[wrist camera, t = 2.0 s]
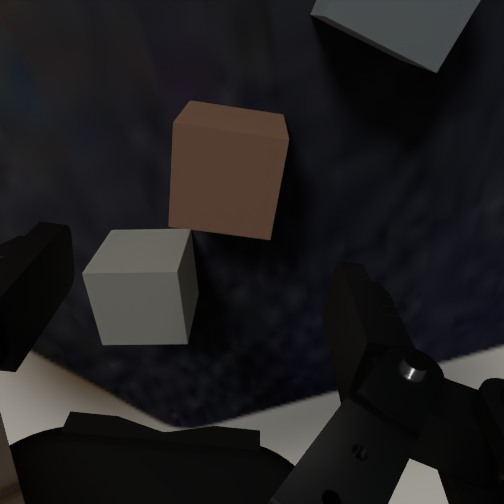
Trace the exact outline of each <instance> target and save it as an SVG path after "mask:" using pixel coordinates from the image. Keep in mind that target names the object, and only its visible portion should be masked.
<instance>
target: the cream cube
mask: <svg viewBox="0 0 504 504" xmlns="http://www.w3.org/2000/svg"><path fill="white" fill-rule="evenodd" d="M82 275H83V278H84V282H85V285H86V289H87V292H88V296H89V299H90V303H91V306H92V310H93V313H94V317H95V320H96V324H97V327H98V331H99V334H100V337H101V341H102V344H103V345H143V344H188V340H189V336H190V331H191V326H192V322H193V317H194V313H195V308H196V304H197V299H198V294H199V292H198V284H197V275H196V267H195V259H194V250H193V242H192V233H191V229H148V230H111V232H110V233H109V235H108V236H107V238H106V239H105V241H104V242H103V244H102V245H101V246H100V248H99V249H98V251H97V252H96V254H95V255H94V257H93V258H92V260H91V261H90V263H89V264H88V266H87V267H86V268H85V270H84V271H83V273H82Z"/></svg>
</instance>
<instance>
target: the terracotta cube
mask: <svg viewBox="0 0 504 504" xmlns="http://www.w3.org/2000/svg"><path fill="white" fill-rule="evenodd" d="M288 144H289V137H288V132H287V128H286V123H285V119H284V115H282V114H275V113H269V112H262V111H256V110H249V109H243V108H236V107H230V106H223V105H217V104H210V103H204V102H197V101H189V103H188V104H187V105H186V107H185V108H184V109H183V110H182V112H181V113H180V114H179V116H178V117H177V118H176V120H175V121H174V122H173V139H172V162H171V184H170V207H169V227H176V228H184V229H191V230H199V231H206V232H214V233H221V234H229V235H236V236H243V237H251V238H258V239H266V240H270V238H271V233H272V228H273V222H274V217H275V212H276V207H277V201H278V196H279V191H280V186H281V180H282V175H283V170H284V165H285V159H286V154H287V149H288Z"/></svg>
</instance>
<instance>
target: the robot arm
mask: <svg viewBox="0 0 504 504" xmlns="http://www.w3.org/2000/svg"><path fill="white" fill-rule="evenodd" d="M73 280H74V259H73V248H72V237H71V230H70V228H69V226H68V225H62V224H54V223H47V222H39V223H38V224H37V225H36V226H35V227H34V228H33V229H32V230H31V231H30V232H29V233H28V234H27V235H25V236H17V237H15V238H13V239H11V240H9V241H7V242H5V243H2V244H1V245H0V370H1V371H10V372H16V371H17V370H18V368H19V367H20V365H21V363H22V362H23V360H24V359H25V357H26V356H27V354H28V353H29V351H30V350H31V348H32V347H33V345H34V344H35V342H36V341H37V339H38V338H39V336H40V335H41V333H42V332H43V330H44V329H45V327H46V326H47V324H48V323H49V321H50V320H51V318H52V317H53V315H54V314H55V312H56V311H57V309H58V308H59V306H60V304H61V303H62V301H63V300H64V298H65V297H66V295H67V294H68V292H69V291H70V289H71V287H72V284H73ZM323 322H324V327H325V332H326V336H327V341H328V346H329V350H330V355H331V359H332V364H333V369H334V373H335V378H336V383H337V387H338V392H339V397H340V401H341V405H340V407H339V408H338V410H337V411H336V412H335V414H334V415H333V416H332V418H331V419H330V420H329V422H328V423H327V424H326V426H325V427H324V428H323V430H322V431H321V432H320V434H319V435H318V436H317V438H316V439H315V440H314V442H313V443H312V444H311V446H310V447H309V448H308V450H307V451H306V452H305V454H304V455H303V456H302V458H301V459H300V460H299V462H298V463H297V464H296V466H294V465H293V464H291V463H290V462H289V461H288V460H287V459H285V458H283V457H282V456H280V455H279V454H277V453H275V452H273V451H271V450H269V449H267V448H265V447H262V446H260V431H259V430H249V429H239V428H228V427H219V426H211V427H203V428H196V429H188V430H180V431H173V432H161V431H158V430H155V429H152V428H150V427H147V426H144V425H141V424H138V423H135V422H132V421H130V420H127V419H124V418H121V417H119V416H110V415H100V414H89V413H79V412H70V413H69V416H68V418H67V420H66V422H65V424H64V426H63V427H59V428H54V429H50V430H46V431H42V432H39V433H36V434H33V435H31V436H28V437H26V438H24V439H21V440H19V441H17V442H15V443H13V444H11V445H10V446H9V443H8V440H7V436H6V432H5V428H4V425H3V421H2V417H1V413H0V504H388V503H389V500H390V498H391V496H392V494H393V492H394V490H395V488H396V486H397V483H398V481H399V479H400V477H401V475H402V473H403V471H404V469H405V467H406V464H407V462H408V460H409V458H410V459H412V460H415V461H417V462H420V463H423V464H425V465H427V466H430V467H432V468H435V469H437V470H438V473H439V476H440V479H441V482H442V485H443V488H444V491H445V494H446V497H447V500H448V503H449V504H504V379H500V378H490V379H487V380H485V381H484V382H483V383H482V385H481V386H480V388H479V389H478V390H477V389H473V388H471V387H468V386H465V385H463V384H459V383H457V382H454V381H451V380H449V379H446V378H444V374H443V371H442V369H441V368H440V366H439V365H438V364H437V362H436V361H435V360H433V359H432V358H431V357H430V356H428V355H427V354H425V353H424V352H422V351H420V350H417V349H415V347H414V345H413V343H412V341H411V339H410V336H409V334H408V332H407V330H406V328H405V326H404V324H403V321H402V319H401V317H399V313H398V311H397V309H396V308H395V304H394V302H393V300H392V298H391V296H390V294H389V293H388V292H387V291H386V290H385V289H384V288H383V287H382V286H381V285H380V284H379V283H378V282H371V281H370V279H369V277H368V274H367V272H366V269H365V267H364V265H362V264H355V263H348V262H340V261H339V262H337V264H336V266H335V268H334V272H333V275H332V278H331V282H330V285H329V288H328V292H327V295H326V299H325V302H324V307H323Z"/></svg>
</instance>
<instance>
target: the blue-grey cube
mask: <svg viewBox="0 0 504 504" xmlns="http://www.w3.org/2000/svg"><path fill="white" fill-rule="evenodd" d="M479 2H480V0H317V1H316V3H315V5H314V8H313V10H312V12H311V15H312V16H314V17H316V18H318V19H320V20H322V21H324V22H326V23H327V24H329V25H331V26H333V27H335V28H337V29H339V30H341V31H343V32H345V33H347V34H349V35H351V36H353V37H355V38H357V39H359V40H361V41H363V42H365V43H367V44H369V45H371V46H373V47H375V48H377V49H379V50H381V51H383V52H385V53H387V54H389V55H391V56H393V57H395V58H397V59H399V60H401V61H404V62H407V63H410V64H413V65H415V66H418V67H421V68H424V69H427V70H430V71H432V72H435V73H437V71H438V70H439V68H440V66H441V65H442V63H443V61H444V60H445V58H446V56H447V55H448V53H449V51H450V50H451V48H452V47H453V45H454V43H455V42H456V40H457V38H458V37H459V35H460V33H461V32H462V30H463V28H464V27H465V25H466V23H467V22H468V20H469V18H470V17H471V15H472V13H473V12H474V10H475V9H476V7H477V5H478V4H479Z"/></svg>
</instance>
